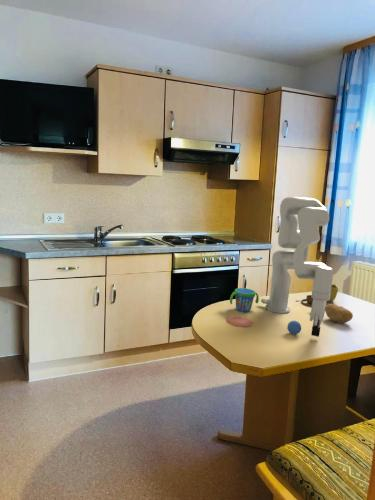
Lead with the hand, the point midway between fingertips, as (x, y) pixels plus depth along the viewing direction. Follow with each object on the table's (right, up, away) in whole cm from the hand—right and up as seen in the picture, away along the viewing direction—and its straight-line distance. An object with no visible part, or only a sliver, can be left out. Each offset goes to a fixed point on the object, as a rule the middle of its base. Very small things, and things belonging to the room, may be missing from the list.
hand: (315, 335), depth 178 cm
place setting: (+11, +6, +48) cm, 50 cm away
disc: (-31, +3, +14) cm, 34 cm away
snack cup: (-27, +6, +32) cm, 42 cm away
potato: (+19, +1, +24) cm, 31 cm away
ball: (-8, +3, +3) cm, 9 cm away
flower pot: (+26, +8, +60) cm, 66 cm away
